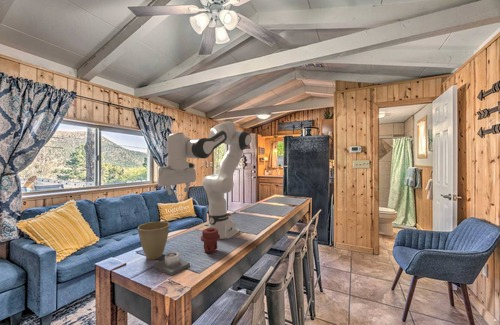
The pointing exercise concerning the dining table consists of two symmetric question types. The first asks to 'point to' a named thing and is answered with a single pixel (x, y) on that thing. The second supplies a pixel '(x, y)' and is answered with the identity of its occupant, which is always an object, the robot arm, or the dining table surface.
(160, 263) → the shaft base
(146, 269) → the dining table surface
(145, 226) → the plant pot
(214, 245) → the mechanical component
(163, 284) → the dining table surface
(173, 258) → the steel collar
